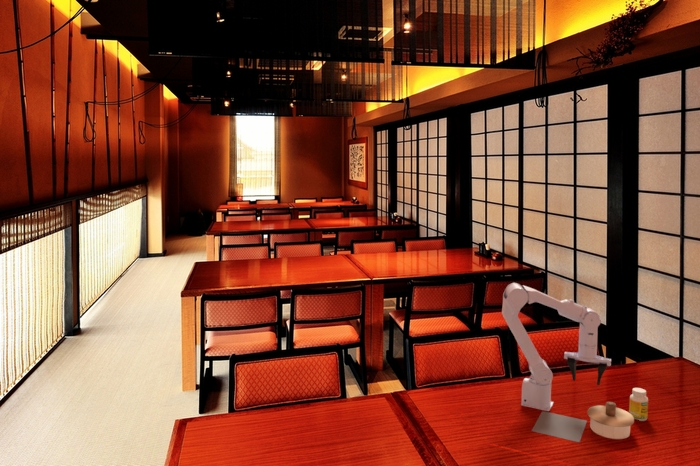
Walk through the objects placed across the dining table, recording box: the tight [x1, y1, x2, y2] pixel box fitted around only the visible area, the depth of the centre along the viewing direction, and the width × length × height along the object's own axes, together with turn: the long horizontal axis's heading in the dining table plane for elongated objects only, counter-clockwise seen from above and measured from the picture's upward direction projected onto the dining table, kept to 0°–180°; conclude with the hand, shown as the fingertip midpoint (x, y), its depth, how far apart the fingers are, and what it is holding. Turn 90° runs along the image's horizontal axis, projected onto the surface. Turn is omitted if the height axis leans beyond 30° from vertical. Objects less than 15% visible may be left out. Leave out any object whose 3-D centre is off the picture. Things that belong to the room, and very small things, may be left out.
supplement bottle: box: [628, 387, 649, 422], centre depth 172 cm, size 5×5×10 cm
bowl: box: [589, 418, 631, 440], centre depth 163 cm, size 11×11×5 cm
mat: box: [531, 410, 588, 444], centre depth 166 cm, size 14×16×1 cm
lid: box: [587, 401, 635, 427], centre depth 162 cm, size 13×13×4 cm
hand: (586, 381), depth 179 cm, fingers open, 7 cm apart
